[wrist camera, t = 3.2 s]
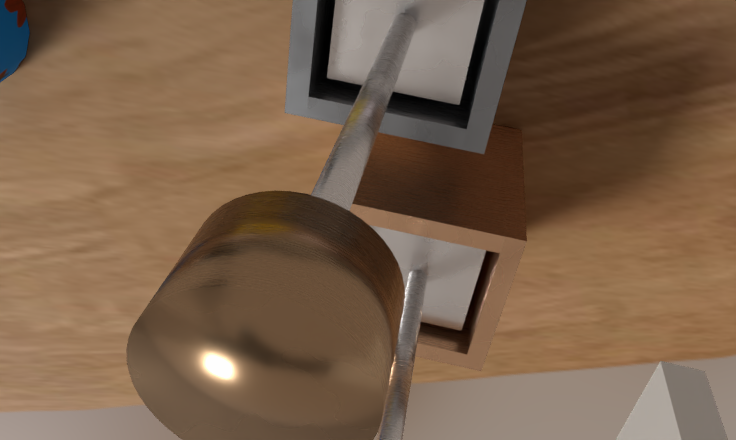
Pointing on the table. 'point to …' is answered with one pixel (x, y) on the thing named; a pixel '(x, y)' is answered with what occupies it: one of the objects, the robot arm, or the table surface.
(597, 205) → the table surface
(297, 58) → the grey box
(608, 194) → the table surface
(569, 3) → the table surface
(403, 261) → the grey capped rod
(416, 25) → the tan and silver rod
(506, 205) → the light wood box
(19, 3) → the thermos
